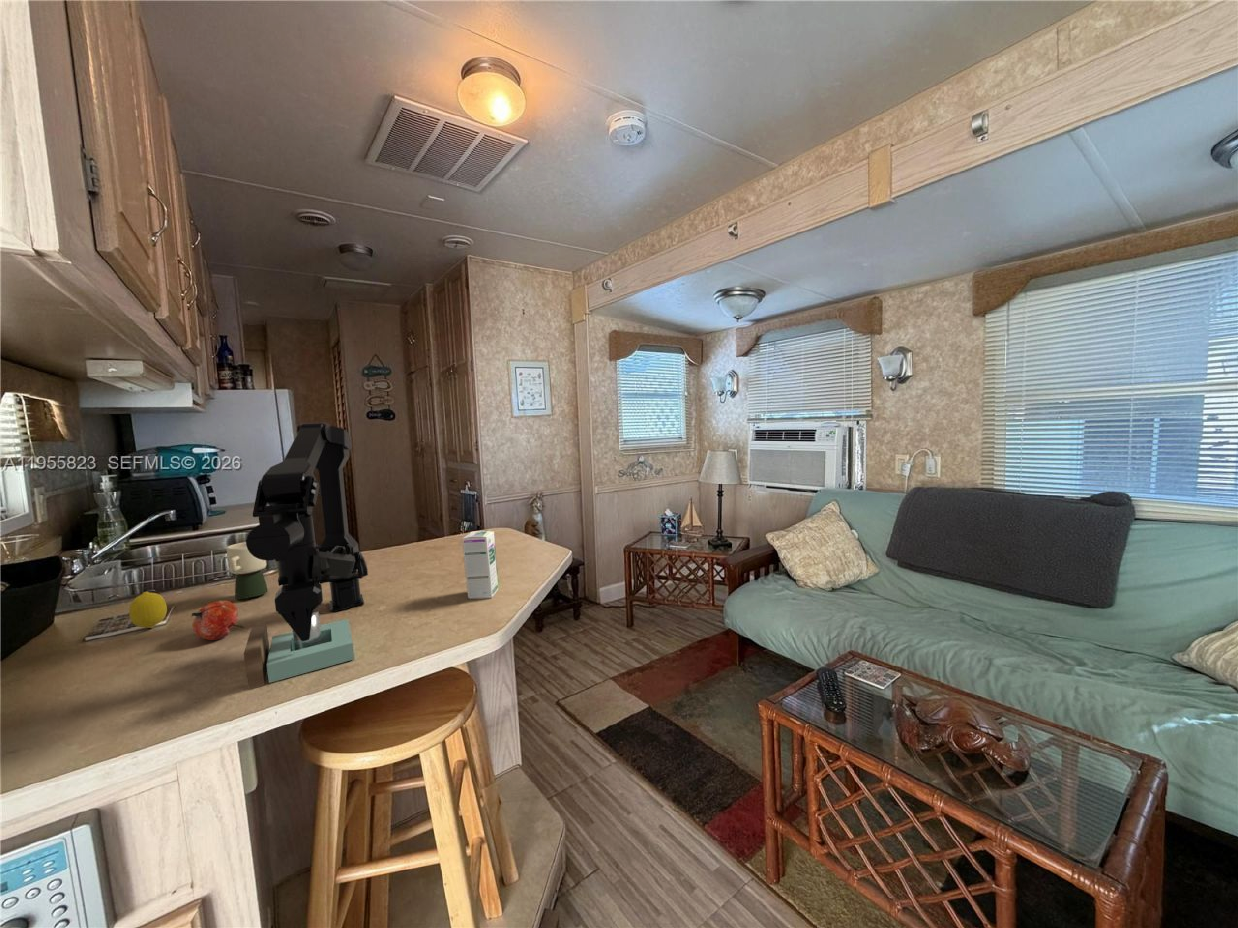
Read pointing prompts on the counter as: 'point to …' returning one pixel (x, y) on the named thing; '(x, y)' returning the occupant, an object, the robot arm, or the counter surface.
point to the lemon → (147, 610)
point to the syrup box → (480, 564)
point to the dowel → (314, 634)
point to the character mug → (246, 571)
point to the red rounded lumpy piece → (215, 620)
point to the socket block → (310, 652)
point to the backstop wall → (257, 656)
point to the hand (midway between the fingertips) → (306, 630)
